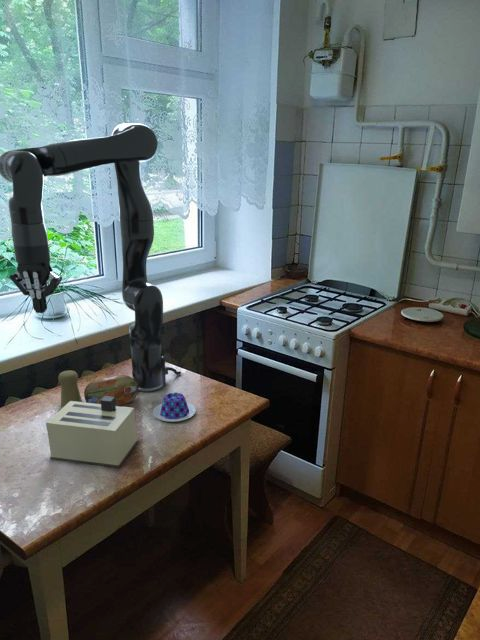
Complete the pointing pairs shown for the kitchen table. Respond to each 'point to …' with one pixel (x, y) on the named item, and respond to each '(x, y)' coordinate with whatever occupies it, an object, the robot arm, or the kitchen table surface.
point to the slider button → (108, 403)
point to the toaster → (92, 434)
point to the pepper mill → (69, 387)
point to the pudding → (174, 408)
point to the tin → (112, 390)
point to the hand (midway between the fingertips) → (40, 312)
